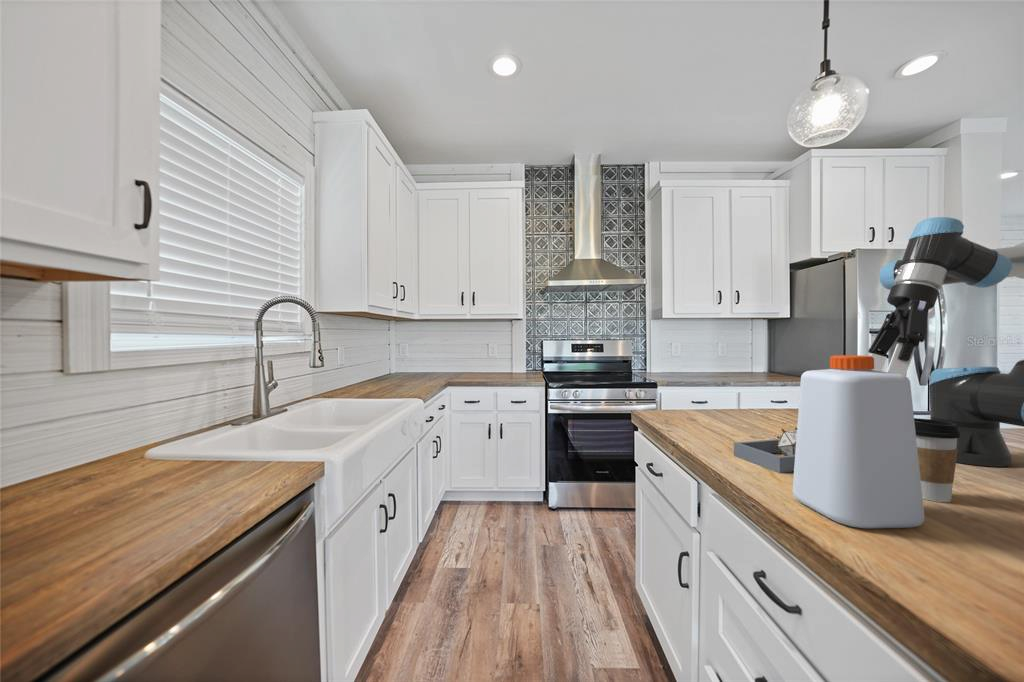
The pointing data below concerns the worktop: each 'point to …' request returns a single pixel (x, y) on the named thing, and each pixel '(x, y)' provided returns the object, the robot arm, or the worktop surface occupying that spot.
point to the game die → (787, 442)
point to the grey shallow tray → (764, 455)
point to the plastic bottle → (858, 446)
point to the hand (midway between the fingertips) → (880, 379)
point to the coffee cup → (936, 457)
